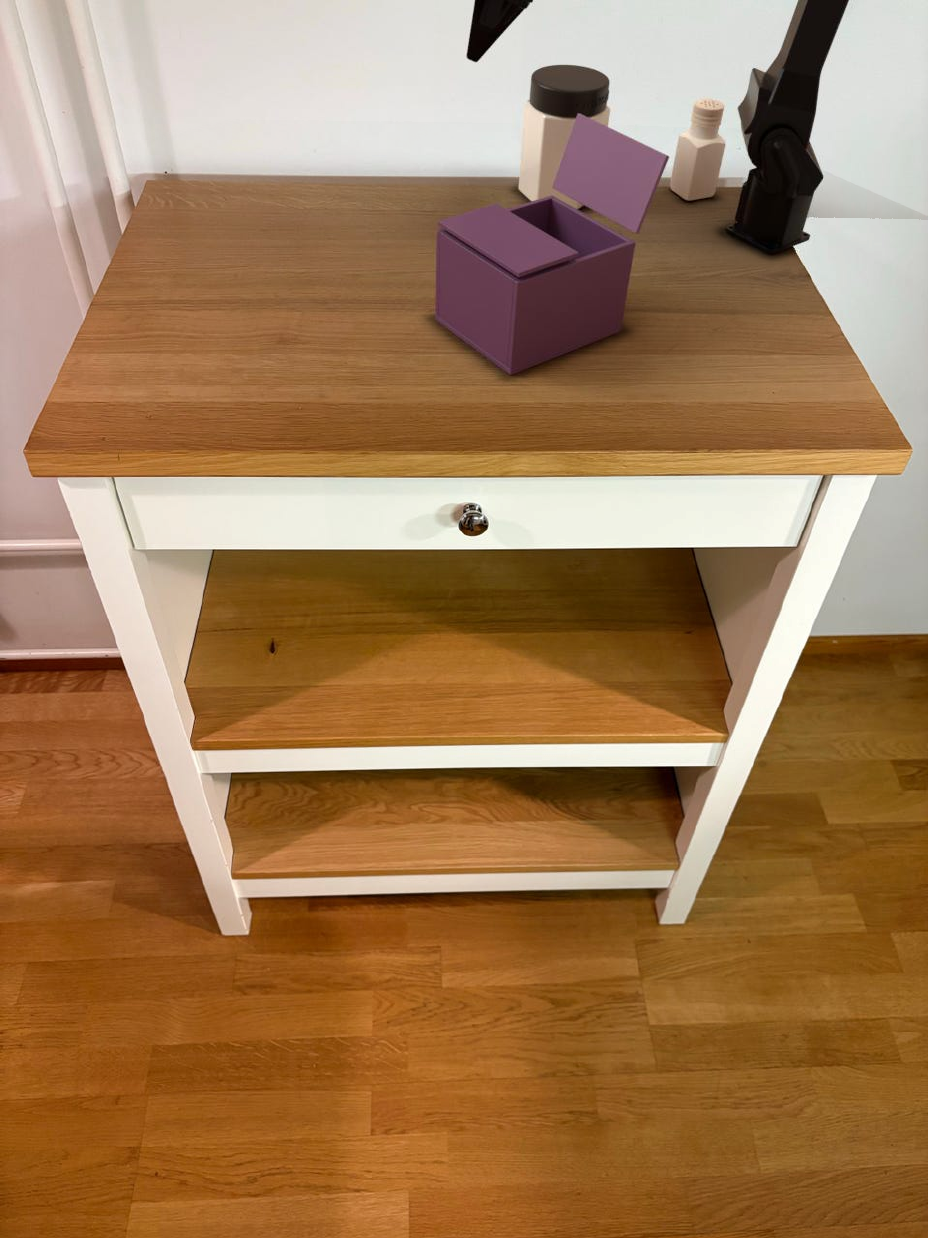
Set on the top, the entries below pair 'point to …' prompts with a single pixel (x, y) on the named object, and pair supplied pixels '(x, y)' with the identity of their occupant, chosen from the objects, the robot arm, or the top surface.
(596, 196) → the lid
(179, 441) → the top surface
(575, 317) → the box
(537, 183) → the jar
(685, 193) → the pepper shaker
